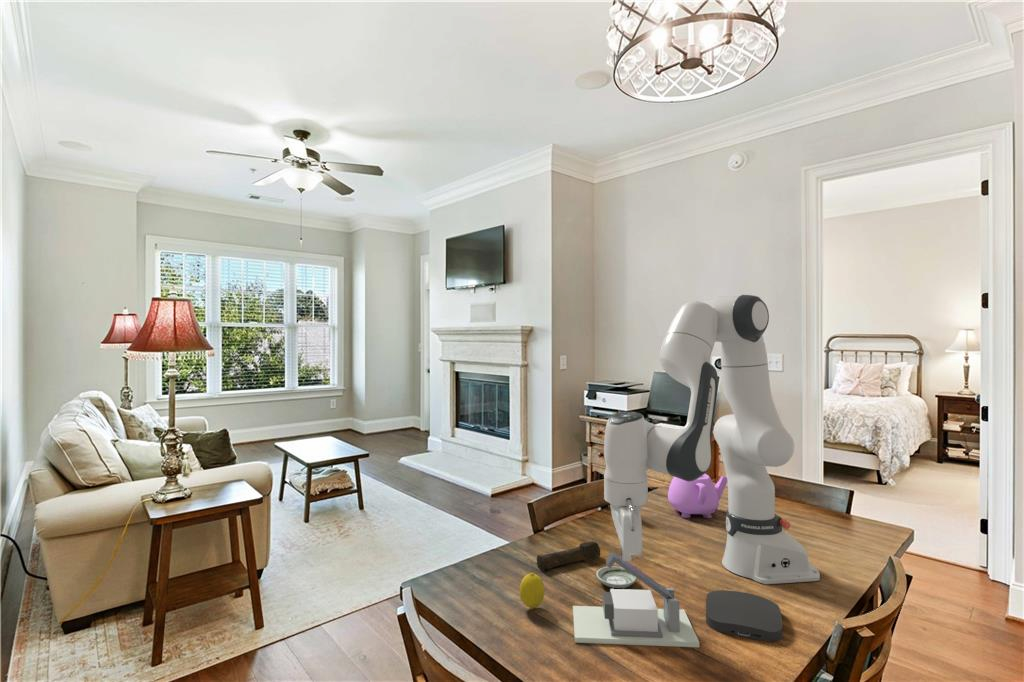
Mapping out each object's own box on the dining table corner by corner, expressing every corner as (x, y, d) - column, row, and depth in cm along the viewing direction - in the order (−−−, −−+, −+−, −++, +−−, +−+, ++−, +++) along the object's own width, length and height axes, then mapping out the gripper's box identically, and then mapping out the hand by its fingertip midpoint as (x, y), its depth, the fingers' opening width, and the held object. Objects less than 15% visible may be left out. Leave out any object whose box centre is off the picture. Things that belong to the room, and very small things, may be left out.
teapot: (742, 524, 163) (742, 477, 163) (679, 525, 164) (679, 478, 164) (718, 504, 183) (718, 462, 183) (662, 504, 183) (662, 463, 183)
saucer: (607, 597, 120) (606, 586, 119) (589, 578, 129) (589, 568, 129) (644, 591, 122) (644, 580, 122) (624, 573, 131) (624, 563, 131)
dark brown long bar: (542, 574, 131) (542, 556, 131) (535, 567, 135) (535, 550, 135) (605, 561, 139) (605, 544, 139) (597, 555, 142) (597, 538, 142)
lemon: (518, 603, 117) (518, 568, 117) (542, 601, 117) (542, 566, 117) (521, 616, 111) (520, 579, 111) (546, 614, 112) (546, 578, 112)
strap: (663, 600, 107) (670, 591, 107) (666, 608, 104) (673, 598, 104) (605, 559, 108) (612, 550, 108) (607, 566, 105) (613, 556, 105)
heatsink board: (683, 614, 111) (683, 581, 111) (699, 647, 99) (699, 610, 99) (572, 610, 113) (572, 577, 113) (574, 642, 101) (574, 606, 101)
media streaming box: (707, 597, 119) (707, 584, 119) (778, 610, 113) (778, 596, 113) (704, 631, 105) (704, 616, 105) (785, 647, 100) (784, 632, 100)
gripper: (650, 508, 96) (650, 582, 96) (633, 478, 116) (634, 539, 116) (616, 508, 96) (616, 581, 96) (605, 478, 117) (605, 538, 117)
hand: (625, 558), depth 106 cm, fingers closed
